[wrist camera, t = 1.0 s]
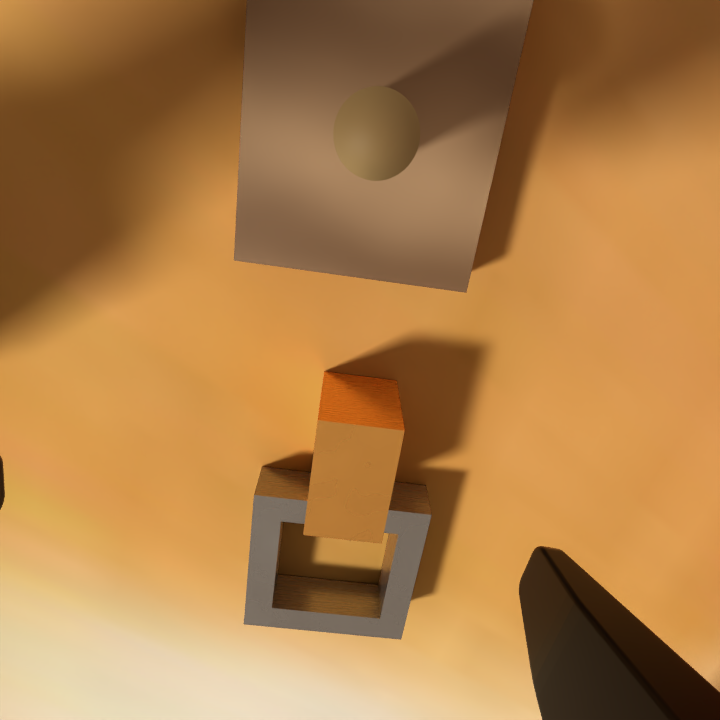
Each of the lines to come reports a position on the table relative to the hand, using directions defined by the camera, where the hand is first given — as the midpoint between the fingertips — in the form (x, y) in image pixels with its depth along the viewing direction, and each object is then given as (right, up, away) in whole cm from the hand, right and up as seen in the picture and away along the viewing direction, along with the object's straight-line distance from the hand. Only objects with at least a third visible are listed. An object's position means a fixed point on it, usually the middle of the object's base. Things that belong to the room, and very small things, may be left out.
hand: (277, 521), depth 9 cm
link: (+1, -4, +15) cm, 16 cm away
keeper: (+2, +12, +8) cm, 15 cm away
